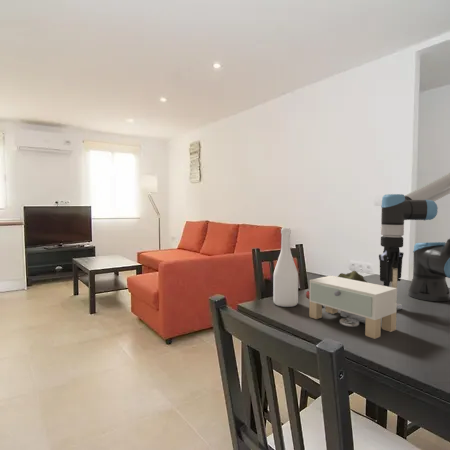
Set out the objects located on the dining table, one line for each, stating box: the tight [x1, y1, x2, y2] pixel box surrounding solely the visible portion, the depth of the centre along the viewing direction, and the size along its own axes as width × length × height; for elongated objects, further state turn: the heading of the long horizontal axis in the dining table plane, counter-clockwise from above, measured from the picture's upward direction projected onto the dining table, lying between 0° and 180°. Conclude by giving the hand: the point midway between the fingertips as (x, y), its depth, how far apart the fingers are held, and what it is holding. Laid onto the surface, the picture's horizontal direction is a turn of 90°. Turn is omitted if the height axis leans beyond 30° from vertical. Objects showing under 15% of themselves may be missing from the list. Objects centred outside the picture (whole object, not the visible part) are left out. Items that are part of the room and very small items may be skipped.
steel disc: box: [339, 317, 360, 328], centre depth 109 cm, size 6×6×1 cm
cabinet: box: [308, 275, 398, 340], centre depth 109 cm, size 14×24×13 cm, turn 36°
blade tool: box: [340, 268, 403, 324], centre depth 118 cm, size 26×10×15 cm, turn 125°
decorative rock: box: [337, 270, 367, 282], centre depth 145 cm, size 15×16×10 cm
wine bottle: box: [272, 227, 299, 308], centre depth 130 cm, size 10×10×30 cm
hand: (390, 298), depth 124 cm, fingers closed on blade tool, 3 cm apart
